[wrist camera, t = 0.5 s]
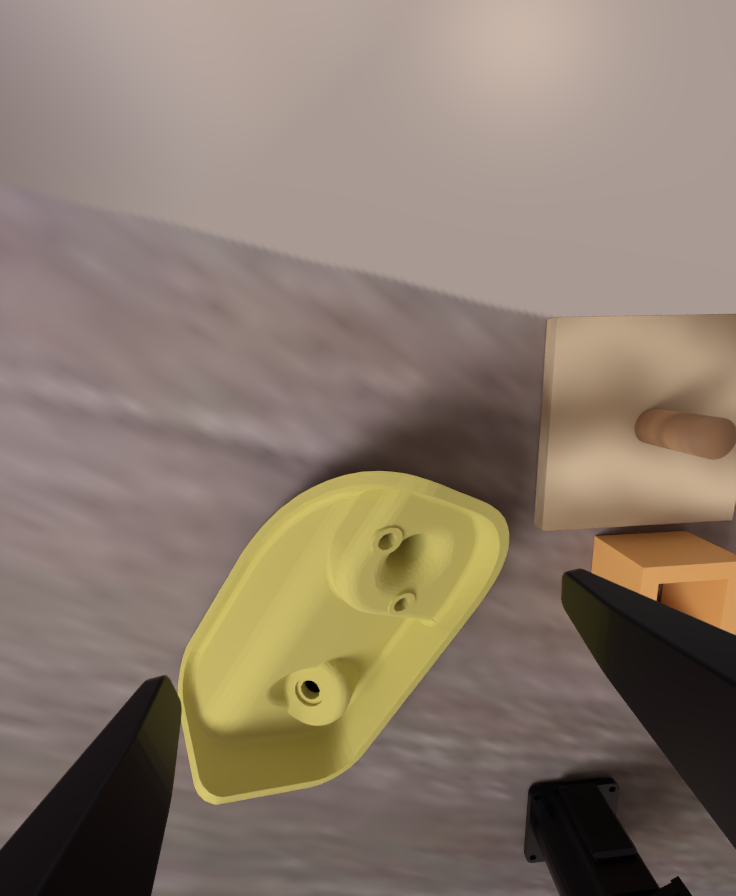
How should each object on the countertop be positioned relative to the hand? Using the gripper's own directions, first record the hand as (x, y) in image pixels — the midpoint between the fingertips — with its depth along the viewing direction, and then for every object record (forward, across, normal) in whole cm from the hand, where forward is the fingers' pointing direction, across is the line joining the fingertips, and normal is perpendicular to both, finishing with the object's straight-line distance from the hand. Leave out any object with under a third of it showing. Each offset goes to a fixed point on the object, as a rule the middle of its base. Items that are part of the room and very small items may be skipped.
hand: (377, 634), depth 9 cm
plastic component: (+13, +1, +10) cm, 17 cm away
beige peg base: (+13, -18, +3) cm, 22 cm away
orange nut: (+11, -17, +13) cm, 24 cm away
